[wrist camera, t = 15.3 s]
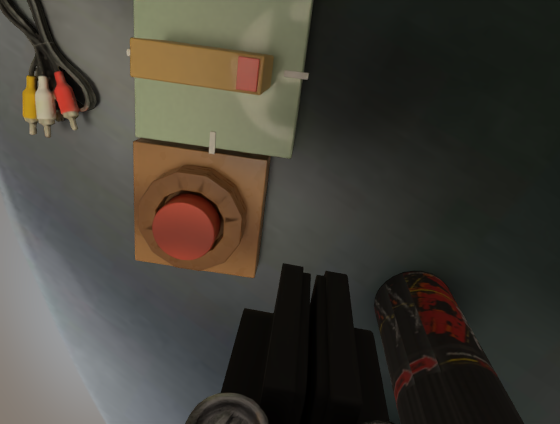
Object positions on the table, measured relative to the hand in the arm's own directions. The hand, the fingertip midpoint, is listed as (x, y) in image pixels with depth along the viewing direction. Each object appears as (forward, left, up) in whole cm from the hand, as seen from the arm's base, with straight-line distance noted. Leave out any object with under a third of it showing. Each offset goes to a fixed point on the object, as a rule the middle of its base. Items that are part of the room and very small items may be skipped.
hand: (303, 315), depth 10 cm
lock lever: (-5, -6, -16) cm, 18 cm away
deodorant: (+11, +10, -19) cm, 24 cm away
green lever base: (-6, -6, -19) cm, 21 cm away
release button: (+5, -7, -15) cm, 18 cm away
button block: (+5, -7, -19) cm, 21 cm away
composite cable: (-4, -18, -19) cm, 26 cm away
